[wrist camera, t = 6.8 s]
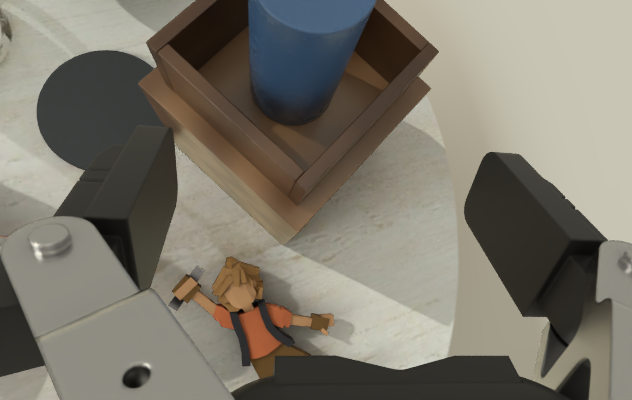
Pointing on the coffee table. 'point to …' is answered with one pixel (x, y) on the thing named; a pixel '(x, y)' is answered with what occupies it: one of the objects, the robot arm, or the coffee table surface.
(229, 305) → the character figurine
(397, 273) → the coffee table surface
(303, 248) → the coffee table surface
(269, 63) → the blue tin
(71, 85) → the coaster
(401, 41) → the bin
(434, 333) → the coffee table surface
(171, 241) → the coffee table surface
